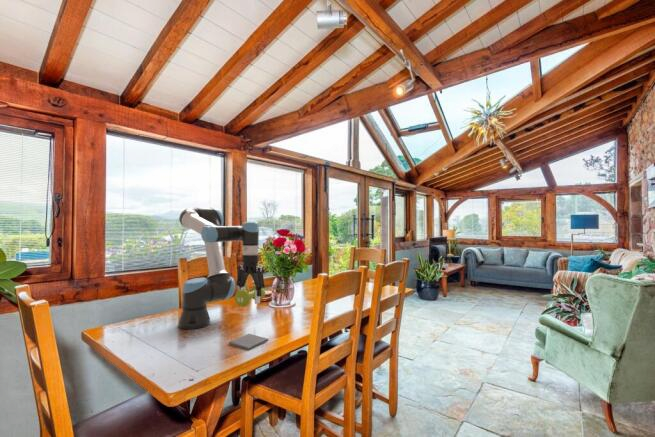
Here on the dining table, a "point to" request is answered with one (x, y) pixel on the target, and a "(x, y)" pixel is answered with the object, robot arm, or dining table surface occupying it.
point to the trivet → (248, 341)
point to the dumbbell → (247, 296)
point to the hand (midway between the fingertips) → (250, 301)
